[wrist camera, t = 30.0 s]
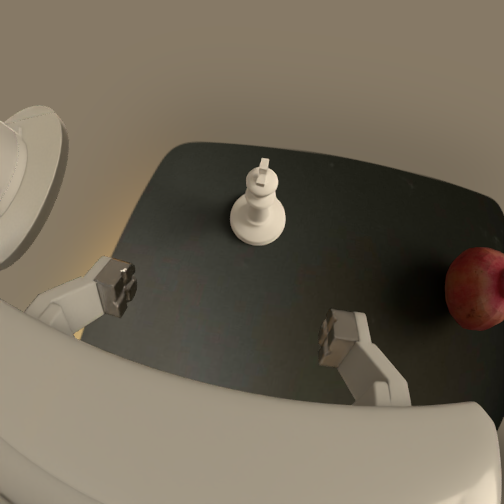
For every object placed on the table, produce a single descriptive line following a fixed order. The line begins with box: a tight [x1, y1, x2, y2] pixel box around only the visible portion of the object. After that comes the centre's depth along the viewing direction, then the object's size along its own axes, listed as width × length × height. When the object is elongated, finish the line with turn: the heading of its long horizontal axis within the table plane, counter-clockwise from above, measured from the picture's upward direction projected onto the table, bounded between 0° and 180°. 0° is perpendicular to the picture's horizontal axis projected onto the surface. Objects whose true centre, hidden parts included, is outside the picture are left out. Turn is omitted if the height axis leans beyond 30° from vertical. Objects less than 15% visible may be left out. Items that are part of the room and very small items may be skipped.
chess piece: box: [230, 158, 285, 245], centre depth 20 cm, size 5×5×10 cm
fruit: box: [445, 247, 504, 330], centre depth 19 cm, size 8×8×10 cm
